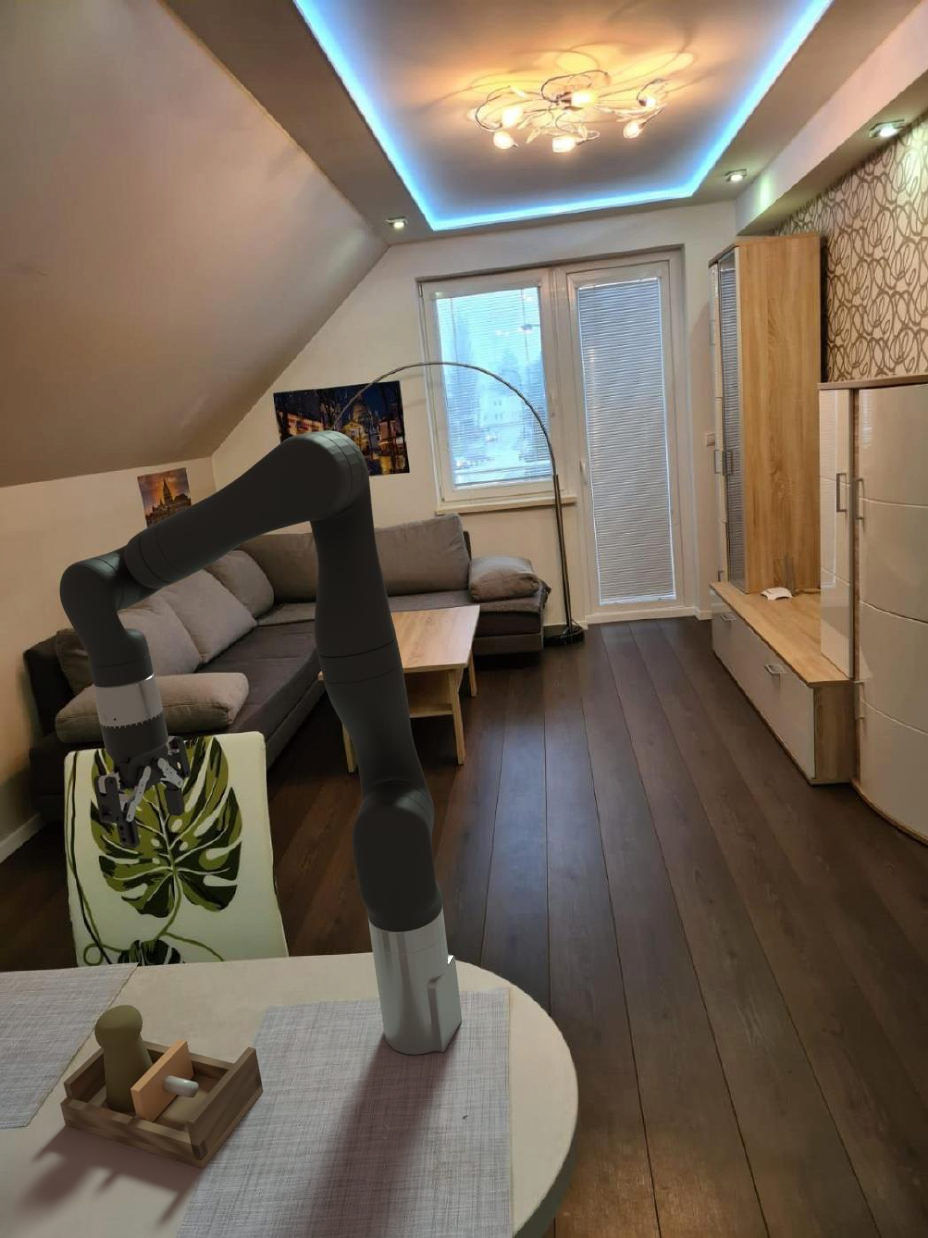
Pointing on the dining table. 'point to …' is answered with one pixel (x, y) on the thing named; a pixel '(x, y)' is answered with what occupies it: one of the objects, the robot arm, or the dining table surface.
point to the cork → (122, 1054)
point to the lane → (169, 1107)
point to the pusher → (164, 1082)
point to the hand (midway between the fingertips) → (155, 829)
